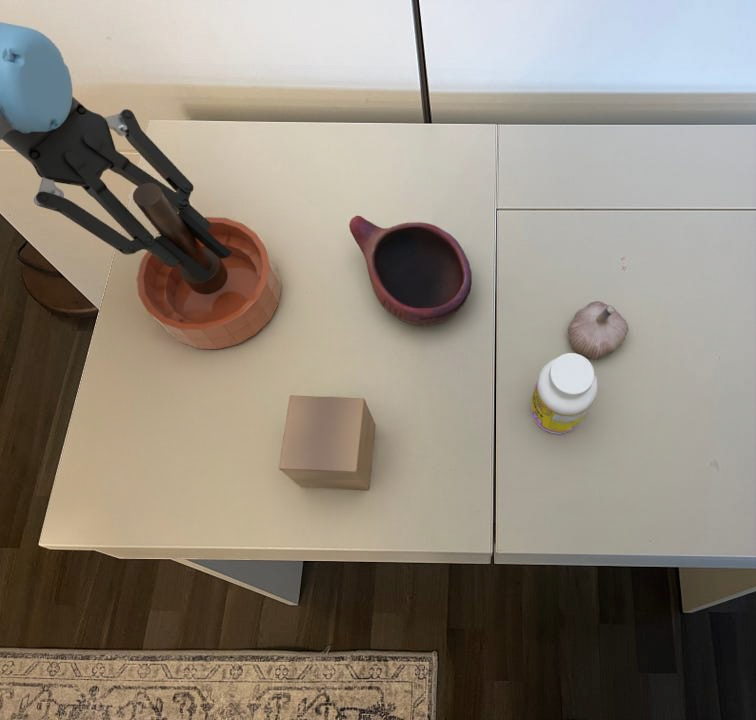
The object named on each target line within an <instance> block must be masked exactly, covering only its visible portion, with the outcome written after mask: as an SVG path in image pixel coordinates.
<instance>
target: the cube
mask: <svg viewBox="0 0 756 720" xmlns="http://www.w3.org/2000/svg"><path fill="white" fill-rule="evenodd" d="M286 412H287V413H286V420H285V425H284V431H283V437H282V438H283V439H282V445H281V449H280V451H281V452H280V457H279V463H278V469H279V470H280V471H281V472H282V473H283V474H284V475H285V476H287V477H288V478H289V479H290V480H292V482H294V483H295V484H296V485H298V486H299V487H300V488H302V489H325V490H349V491H351V490H352V491H370V486H371V476H372V466H373V456H374V447H375V446H374V445H375V436H376V423H375V420H374V418H373V416H372V413H371V411H370V409H369V406H368V405H367V402H366V400H365V398H362V397H361V398H360V397H339V396H338V397H336V396H315V395H314V396H313V395H292V394H291V395H289V397H288V405H287V411H286Z"/></svg>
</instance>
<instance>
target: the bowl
mask: <svg viewBox="0 0 756 720" xmlns="http://www.w3.org/2000/svg"><path fill="white" fill-rule="evenodd" d="M348 227H349V231H350V233H351V235H352V237H353V239H354V242H355V243H356V245H357V246H358V247H359V249H360V251H361V253H362V254H363V257H364V259H365V262H366V267H367V271H368V276H369V281H370V283H371V286H372V290H373V292H374V294H375V296H376V298H377V300H378V301H379V303H380V305H381V306H382V308H384V309H385V310H386V311H387V312H388V313H389V314H390V315H392V316H393V317H395V318H396V319H398V320H401V321H403V322H406V323H409V324H412V325H421V326H424V325H425V326H429V325H435V324H440V323H441V322H445V320H448V319H450V318H451V317H453V315H455V314H456V313H457V312H458V311H460V310H461V308H462V307H463V306H464V305H465V303H466V302H467V300H468V299H469V296H470V293H471V289H472V285H473V284H472V283H473V279H472V278H473V277H472V276H473V275H472V273H473V272H472V268H471V265H470V264H471V263H470V262H469V259H468V257H467V255H466V252H465V251H464V249H463V248H462V246H461V245H460V243H459V241H458V240H457V238H455V237H454V236H453V235H452V234H450V233H449V232H447V231H445V230H444V229H442V228H441V227H439V226H437V225H435V224H432V223H429V222H421V221H419V222H417V221H416V222H415V221H412V222H411V221H410V222H403V223H399V224H396V225H393V226H390V227H386V228H385V227H380V226H378V225H376V224H374V223H373V222H371V221H369V220H368V219H366V218H365V217H363V216H361V215H355V216H354V217H353V216H352V218H351V219H350V221H349V224H348Z"/></svg>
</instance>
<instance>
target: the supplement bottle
mask: <svg viewBox="0 0 756 720" xmlns="http://www.w3.org/2000/svg"><path fill="white" fill-rule="evenodd" d="M597 392H598V380H597V376H596V373H595V370H594V366H593V364H592V362H590V360H588V359H587V358H586V357H585V356H584V355H582V354H579V353H577V352H576V353H575V352H567V353H563V354H561V355H558V357H555V358H552V359H551V360H550V361H548V362H547V363H546V364H545V365H544V366H543V367H542V369H541V370H540V372H539V374H538V377H537V381H536V384H535V387H534V390H533V392H532V396H531V401H530V413H531V416H532V419H533V420H534V422H535V423H536V425H538V426H539V428H541V429H542V430H543V431H546V432H547V433H551V434H555V435H559V434H560V435H561V434H566V433H569V432H571V431H573V430H575V428H577V427H578V426H579V424H580V423H581V422H582V421H583V419H584V417H585V416H586V414H587V412H588V410H589V408H590V407H591V405H592V404H593V402H594V401H595V398H596V396H597Z"/></svg>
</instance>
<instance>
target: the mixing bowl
mask: <svg viewBox="0 0 756 720" xmlns="http://www.w3.org/2000/svg"><path fill="white" fill-rule="evenodd" d="M203 217H204V218H206V219H207V220H208V221H209V223H210V224H211V227H210V228H209V229H208V230H207V232H209V233H210V234H211V235H212V236H213V237H214V238H216V239H217V240H218V241H219V242H220V243H221V244H222V245H224V246H225V247H226V248H227V249H228V250H229V251H231V252H232V253H231V254H230V255H229V257H228V258H221V259H220V260H221V261H222V263H223V264H224V266H225V267H226V269H227V272H228V278H227V281H226V283H225V285H224V286H223V287H222V288H221V289H220V290H219V291H217V292H215V293H212V294H199V293H197V292H195V291H193V290H192V289H191V287H190V286H189V285H188V284H187V283H186V281H185V280H184V279H183V278H182V276H181V275H180V272H179V263H178V264H177V265H176V267H169V266H166V265H165V264H164V263H163V262H161V261H160V260H159V259H158V258H156V257H155V256H154V255H153V254H151V253H150V252H149V251H147V250H146V252H145V254H144V255H143V257H142V258H141V260H140V264H139V268H138V273H137V276H136V283H137V293H138V297H139V299H140V301H141V303H142V304H143V307H144V308H145V310H146V311H147V312H148V314H149V315H150V316H151V317H153V319H154V320H155V321H156V322H157V323H158V324H159V325H160V326H162V327H163V328H164V329H165V331H167V333H168V334H170V335H171V336H173V338H175V339H176V340H177V341H179V342H180V343H182V344H185V345H189V346H191V347H194V348H196V349H205V350H207V349H209V350H220V349H224V348H228V347H231V346H236V345H239V344H241V343H243V342H244V341H246V340H248V339H250V338H251V337H253V336H255V335H257V334H258V333H259V332H260V331H261V329H262V328H264V326H266V325H267V323H269V322H270V320H271V319H272V317H273V315H274V313H275V311H276V309H277V308H278V305H279V301H280V298H281V297H280V296H281V289H282V285H281V279H280V275H279V271H278V269H277V267H276V265H275V263H274V261H273V259H272V257H271V254H270V252H269V251H268V249H267V248H266V246H265V245H264V243H263V241H262V240H261V238H260V237H259V235H258V234H257V233H256V232H255V231H254V230H252V229H250V228H249V227H248V226H247V225H245V224H244V223H242V222H239V221H236V220H233V219H230V218H226V217H213V216H203ZM195 239H196V238H195ZM196 240H197V242H198V243H199V244H200V246H201V247H202V248H206V249H208V248H207V247H206V246H205V245H203V244H202V243H201V242H200V241H199V240H198V239H196Z"/></svg>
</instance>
